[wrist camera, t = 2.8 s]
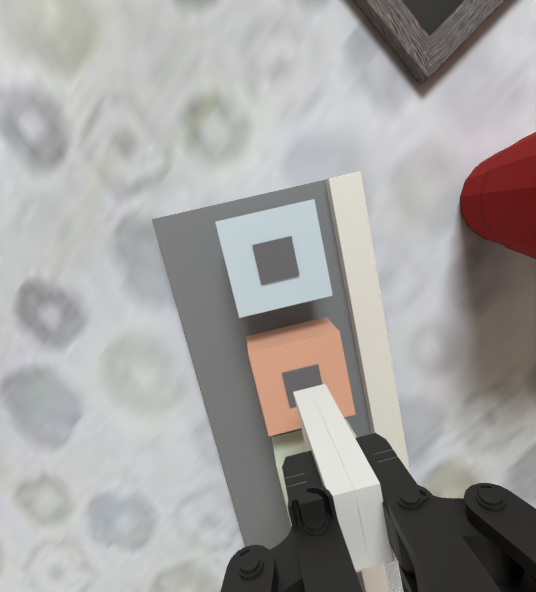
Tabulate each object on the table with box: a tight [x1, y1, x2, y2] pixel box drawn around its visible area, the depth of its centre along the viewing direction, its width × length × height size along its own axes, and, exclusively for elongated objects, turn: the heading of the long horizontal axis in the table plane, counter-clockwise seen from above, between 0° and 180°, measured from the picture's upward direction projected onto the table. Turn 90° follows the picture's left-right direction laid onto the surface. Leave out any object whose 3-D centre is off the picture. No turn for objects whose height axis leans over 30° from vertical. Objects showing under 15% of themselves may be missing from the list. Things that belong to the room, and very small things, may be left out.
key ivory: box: [356, 563, 390, 592], centre depth 25 cm, size 5×5×3 cm
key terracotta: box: [246, 317, 356, 436], centre depth 22 cm, size 5×5×3 cm
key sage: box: [272, 419, 357, 527], centre depth 24 cm, size 5×5×3 cm
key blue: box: [215, 199, 333, 318], centre depth 21 cm, size 5×5×3 cm
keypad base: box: [152, 171, 410, 550], centre depth 27 cm, size 28×13×3 cm, turn 13°
